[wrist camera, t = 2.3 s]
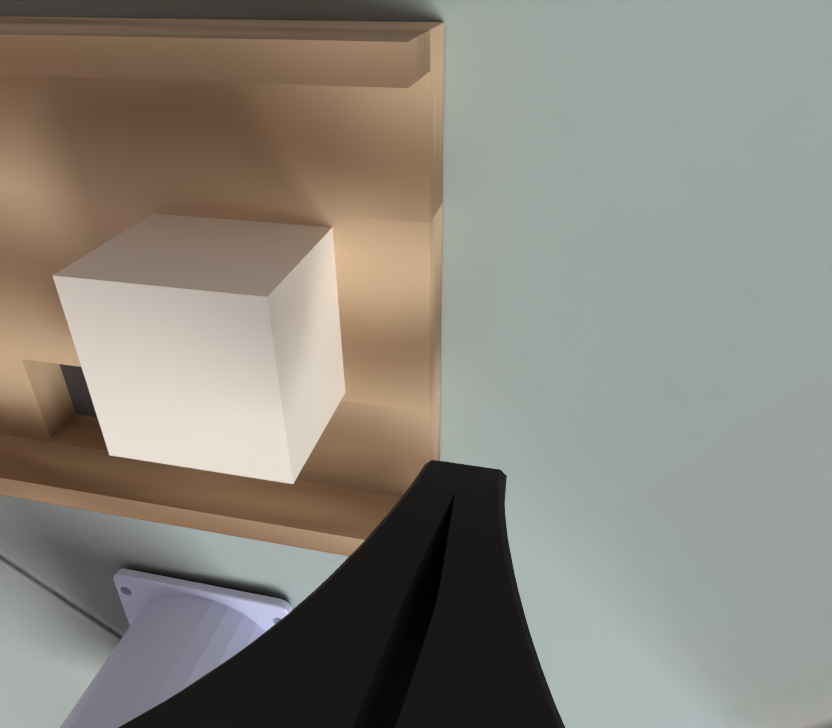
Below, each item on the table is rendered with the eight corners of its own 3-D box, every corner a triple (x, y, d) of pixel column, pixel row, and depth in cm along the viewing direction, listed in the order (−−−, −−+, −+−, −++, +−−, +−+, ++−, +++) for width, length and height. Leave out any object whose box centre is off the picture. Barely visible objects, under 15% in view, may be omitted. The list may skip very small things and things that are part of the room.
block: (345, 392, 20) (293, 484, 16) (188, 372, 21) (109, 455, 17) (332, 227, 17) (267, 297, 14) (153, 213, 18) (51, 275, 15)
